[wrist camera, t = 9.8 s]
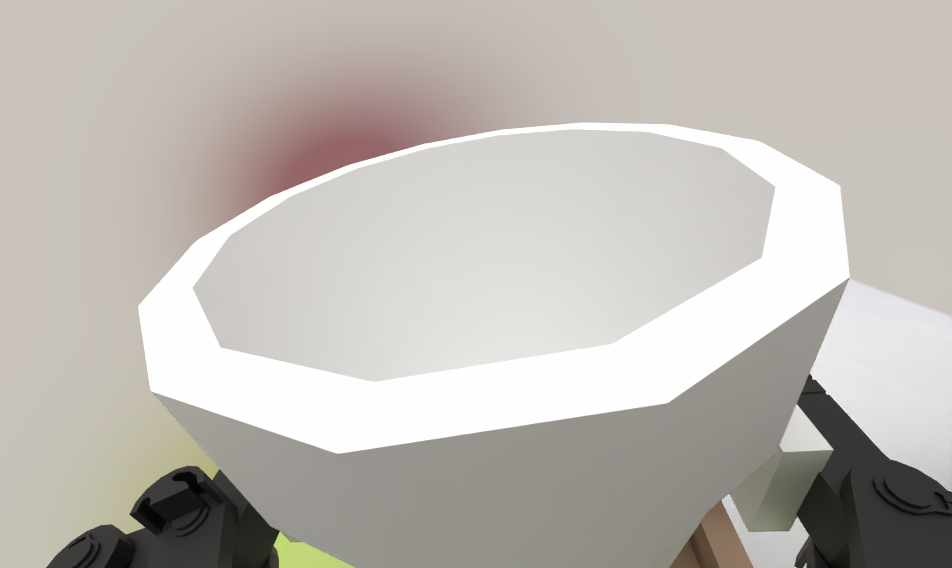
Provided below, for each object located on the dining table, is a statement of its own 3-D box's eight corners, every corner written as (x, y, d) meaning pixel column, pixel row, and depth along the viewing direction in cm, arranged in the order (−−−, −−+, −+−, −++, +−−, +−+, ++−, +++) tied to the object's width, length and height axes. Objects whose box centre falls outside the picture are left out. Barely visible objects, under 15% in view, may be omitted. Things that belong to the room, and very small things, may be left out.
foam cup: (741, 554, 12) (930, 130, 5) (561, 931, 8) (289, 1294, 1) (522, 401, 19) (481, 120, 12) (353, 554, 14) (128, 238, 7)
